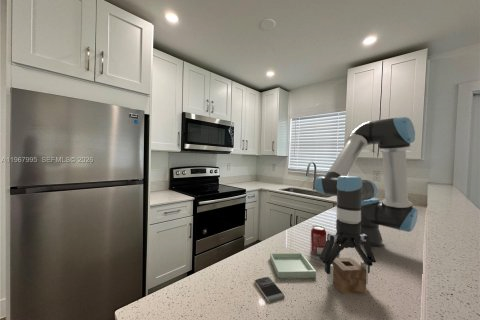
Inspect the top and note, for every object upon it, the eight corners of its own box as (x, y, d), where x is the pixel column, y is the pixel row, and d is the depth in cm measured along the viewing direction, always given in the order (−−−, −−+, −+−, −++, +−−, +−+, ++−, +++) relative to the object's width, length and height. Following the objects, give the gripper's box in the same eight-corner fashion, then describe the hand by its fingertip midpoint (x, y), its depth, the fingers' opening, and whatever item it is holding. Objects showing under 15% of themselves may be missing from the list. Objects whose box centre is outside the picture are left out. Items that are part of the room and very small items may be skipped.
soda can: (327, 257, 88) (327, 230, 88) (311, 255, 89) (312, 229, 89) (324, 250, 95) (324, 225, 94) (309, 248, 96) (309, 224, 96)
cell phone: (268, 279, 71) (268, 275, 71) (285, 300, 61) (285, 295, 61) (253, 283, 69) (253, 279, 69) (268, 305, 59) (268, 300, 59)
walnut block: (350, 279, 72) (351, 257, 72) (365, 294, 64) (366, 269, 64) (329, 279, 72) (330, 257, 72) (342, 294, 64) (343, 270, 64)
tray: (301, 258, 86) (301, 252, 86) (315, 277, 72) (316, 271, 72) (270, 258, 86) (270, 253, 86) (278, 278, 71) (278, 271, 71)
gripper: (373, 217, 72) (371, 275, 72) (310, 217, 71) (309, 276, 71) (389, 223, 65) (388, 288, 65) (319, 223, 63) (318, 290, 63)
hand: (346, 282), depth 68 cm, fingers open, 12 cm apart
